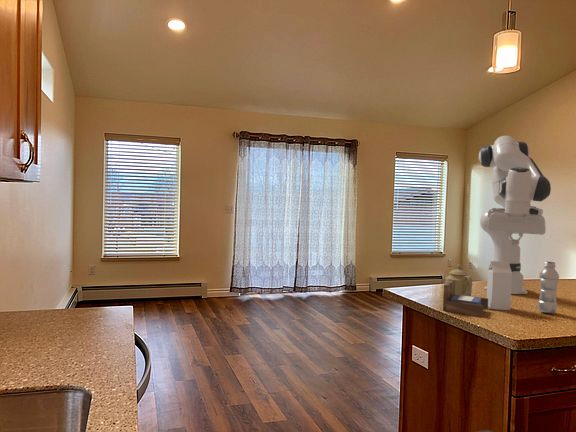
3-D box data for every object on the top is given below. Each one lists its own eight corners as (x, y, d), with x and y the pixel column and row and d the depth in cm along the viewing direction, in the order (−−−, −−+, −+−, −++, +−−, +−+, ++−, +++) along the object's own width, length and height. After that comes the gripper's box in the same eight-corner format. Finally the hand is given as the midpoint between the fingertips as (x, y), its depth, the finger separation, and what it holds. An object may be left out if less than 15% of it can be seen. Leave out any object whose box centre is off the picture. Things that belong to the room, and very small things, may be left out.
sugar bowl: (484, 299, 193) (485, 265, 193) (468, 302, 187) (470, 267, 187) (455, 293, 206) (456, 261, 205) (439, 295, 200) (441, 262, 199)
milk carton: (510, 310, 175) (512, 263, 174) (491, 309, 176) (493, 262, 175) (504, 306, 182) (506, 260, 181) (486, 305, 183) (488, 259, 182)
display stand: (451, 303, 185) (452, 279, 185) (487, 308, 178) (488, 283, 178) (442, 310, 172) (443, 285, 172) (482, 316, 165) (483, 289, 164)
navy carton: (454, 306, 180) (454, 294, 180) (480, 310, 175) (481, 297, 175) (450, 311, 173) (450, 298, 172) (477, 315, 167) (478, 302, 167)
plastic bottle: (538, 309, 177) (541, 260, 176) (558, 313, 173) (561, 262, 172) (535, 312, 172) (538, 262, 171) (555, 316, 168) (558, 264, 167)
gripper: (487, 208, 176) (485, 242, 177) (546, 211, 165) (544, 247, 166) (489, 207, 181) (487, 240, 182) (547, 210, 170) (544, 245, 171)
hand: (514, 244), depth 174 cm, fingers closed
